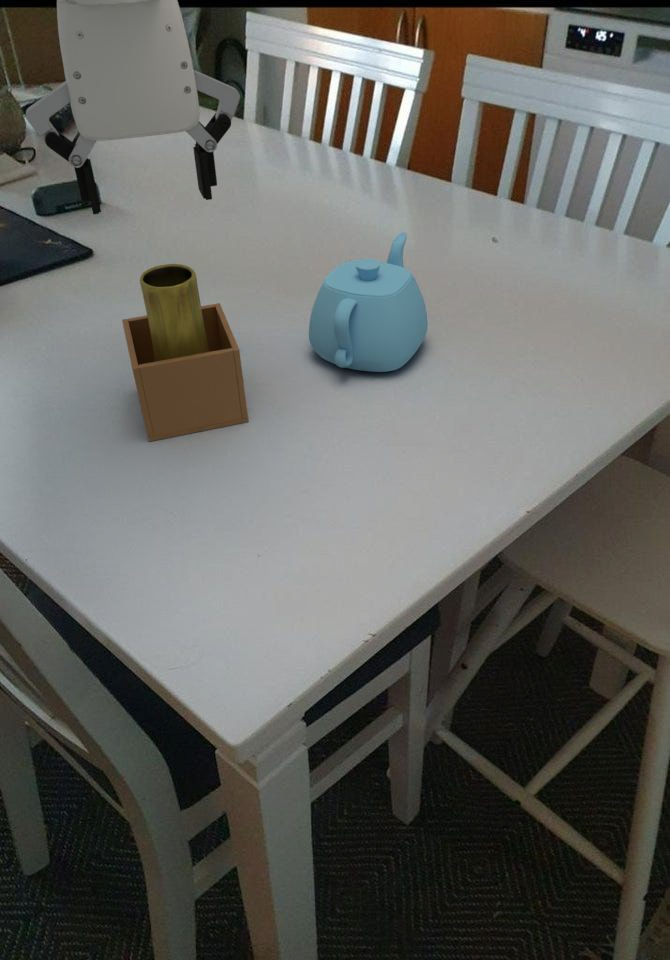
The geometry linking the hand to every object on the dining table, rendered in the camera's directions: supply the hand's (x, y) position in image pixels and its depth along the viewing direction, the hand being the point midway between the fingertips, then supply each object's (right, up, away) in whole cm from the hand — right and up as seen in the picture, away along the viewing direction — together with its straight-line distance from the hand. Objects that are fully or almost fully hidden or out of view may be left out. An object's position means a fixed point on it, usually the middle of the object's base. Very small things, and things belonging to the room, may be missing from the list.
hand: (151, 201), depth 71 cm
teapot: (+21, -9, +23) cm, 32 cm away
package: (+1, -17, +14) cm, 22 cm away
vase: (+1, -16, +14) cm, 22 cm away
